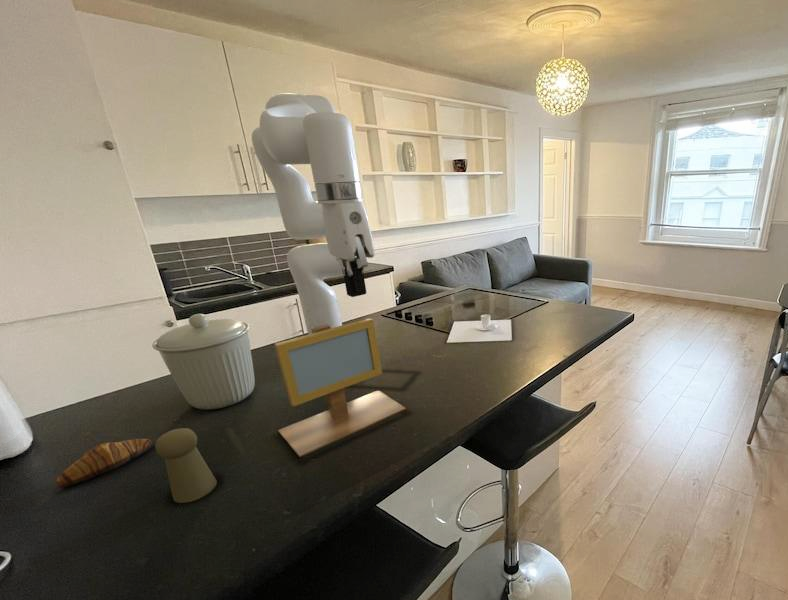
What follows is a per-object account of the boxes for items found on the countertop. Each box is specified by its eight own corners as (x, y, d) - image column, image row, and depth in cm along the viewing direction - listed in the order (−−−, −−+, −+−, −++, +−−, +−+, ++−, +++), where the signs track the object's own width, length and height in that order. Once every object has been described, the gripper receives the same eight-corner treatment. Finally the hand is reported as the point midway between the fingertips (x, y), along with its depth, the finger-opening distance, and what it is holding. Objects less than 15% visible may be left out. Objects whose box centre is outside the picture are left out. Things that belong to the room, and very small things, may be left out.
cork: (187, 479, 70) (165, 424, 66) (224, 475, 71) (204, 421, 67) (164, 504, 65) (138, 446, 61) (203, 501, 65) (180, 443, 61)
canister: (159, 412, 92) (123, 324, 84) (232, 377, 108) (207, 300, 100) (215, 425, 86) (182, 331, 78) (284, 386, 102) (262, 305, 94)
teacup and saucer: (498, 331, 132) (497, 319, 130) (473, 332, 132) (472, 320, 130) (498, 323, 140) (498, 311, 138) (475, 323, 140) (474, 312, 139)
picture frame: (290, 404, 75) (274, 343, 70) (378, 371, 86) (369, 317, 82) (292, 406, 74) (276, 345, 69) (382, 373, 85) (373, 319, 81)
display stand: (279, 436, 81) (251, 338, 74) (379, 395, 95) (364, 309, 87) (301, 462, 73) (271, 355, 65) (407, 414, 87) (393, 321, 79)
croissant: (68, 497, 67) (54, 472, 65) (53, 484, 70) (40, 460, 69) (162, 451, 78) (153, 429, 76) (146, 442, 81) (136, 421, 79)
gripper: (379, 192, 69) (394, 297, 76) (341, 192, 79) (357, 285, 86) (336, 195, 64) (356, 307, 71) (301, 194, 74) (322, 292, 81)
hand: (357, 294), depth 79 cm, fingers closed
